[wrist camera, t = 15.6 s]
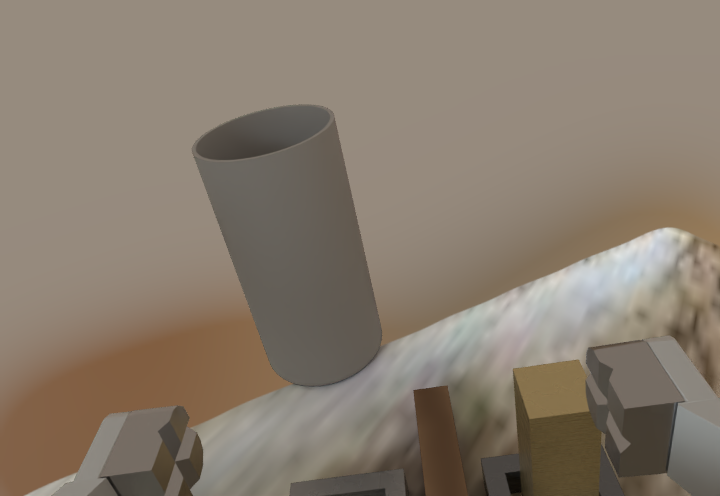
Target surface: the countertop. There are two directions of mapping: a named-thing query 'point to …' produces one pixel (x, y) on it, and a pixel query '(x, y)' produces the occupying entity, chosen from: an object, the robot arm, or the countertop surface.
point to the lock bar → (556, 431)
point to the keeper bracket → (506, 477)
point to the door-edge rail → (439, 443)
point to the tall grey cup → (294, 239)
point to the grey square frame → (355, 485)
